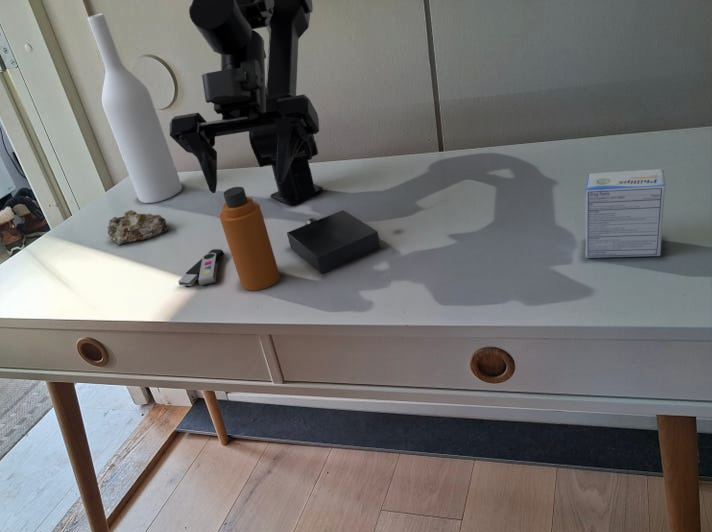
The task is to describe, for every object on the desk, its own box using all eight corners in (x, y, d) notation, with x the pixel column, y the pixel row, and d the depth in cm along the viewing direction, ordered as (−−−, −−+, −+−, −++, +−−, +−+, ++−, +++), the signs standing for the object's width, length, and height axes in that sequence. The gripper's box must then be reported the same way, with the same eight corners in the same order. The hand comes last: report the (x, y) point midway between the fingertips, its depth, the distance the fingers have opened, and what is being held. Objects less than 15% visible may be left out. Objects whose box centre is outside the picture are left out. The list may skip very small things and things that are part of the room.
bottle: (189, 189, 126) (127, 9, 109) (148, 207, 123) (78, 24, 106) (172, 180, 132) (110, 7, 115) (132, 197, 129) (63, 22, 112)
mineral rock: (91, 235, 111) (110, 201, 116) (105, 255, 114) (123, 221, 119) (151, 233, 108) (168, 198, 112) (163, 254, 111) (179, 219, 116)
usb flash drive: (212, 254, 102) (210, 248, 101) (242, 256, 99) (240, 249, 99) (178, 286, 96) (176, 279, 95) (209, 288, 93) (207, 281, 93)
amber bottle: (234, 282, 94) (205, 195, 86) (266, 266, 96) (240, 179, 88) (254, 294, 90) (225, 204, 83) (287, 277, 92) (262, 187, 85)
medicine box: (659, 238, 81) (664, 167, 76) (660, 258, 78) (666, 185, 73) (587, 240, 84) (587, 172, 79) (585, 259, 81) (585, 189, 76)
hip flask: (381, 248, 93) (378, 231, 91) (321, 274, 91) (317, 256, 89) (341, 222, 102) (337, 205, 101) (285, 245, 100) (281, 228, 98)
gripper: (148, 52, 87) (148, 172, 84) (292, 24, 83) (297, 149, 80) (188, 97, 98) (189, 205, 95) (317, 74, 93) (322, 186, 91)
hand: (245, 187), depth 90 cm, fingers open, 9 cm apart
